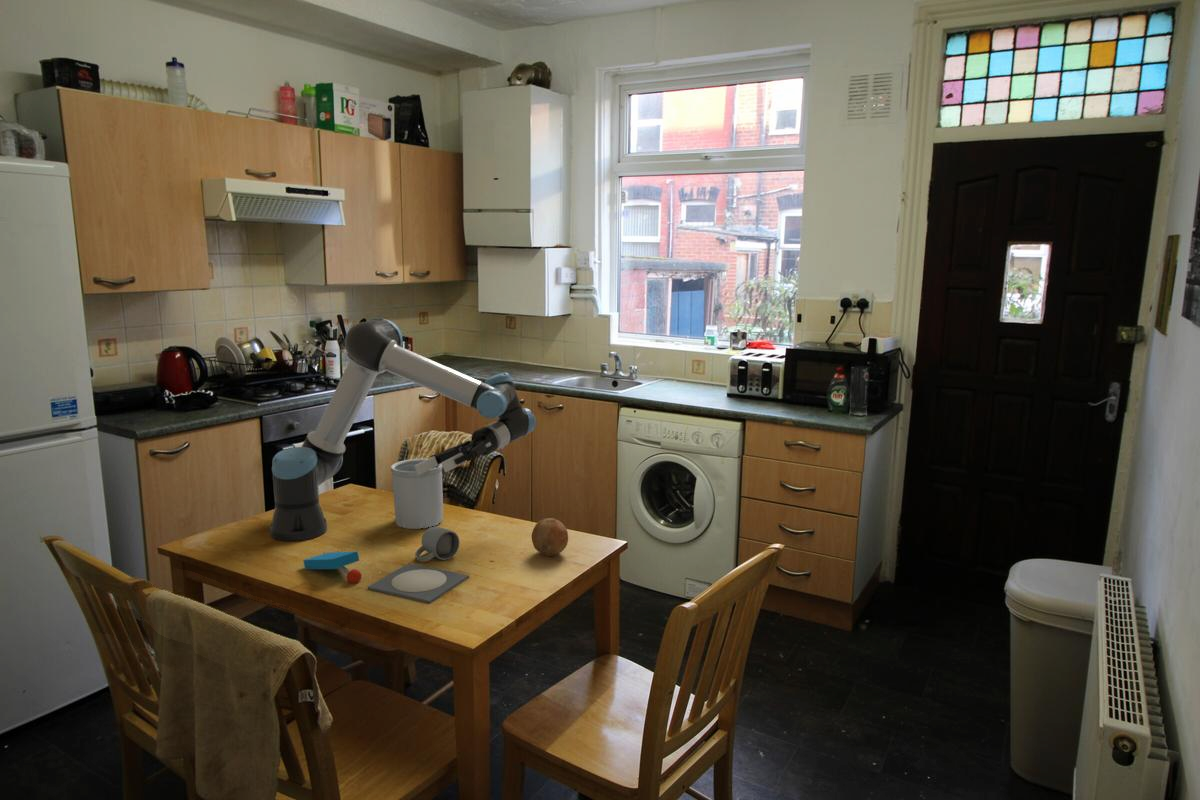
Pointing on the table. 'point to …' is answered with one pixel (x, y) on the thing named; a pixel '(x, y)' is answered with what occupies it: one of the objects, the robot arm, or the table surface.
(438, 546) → the ceramic mug
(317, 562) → the lever
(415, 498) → the utensil holder
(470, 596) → the table surface
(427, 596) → the mat
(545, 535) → the reddish-brown ball
